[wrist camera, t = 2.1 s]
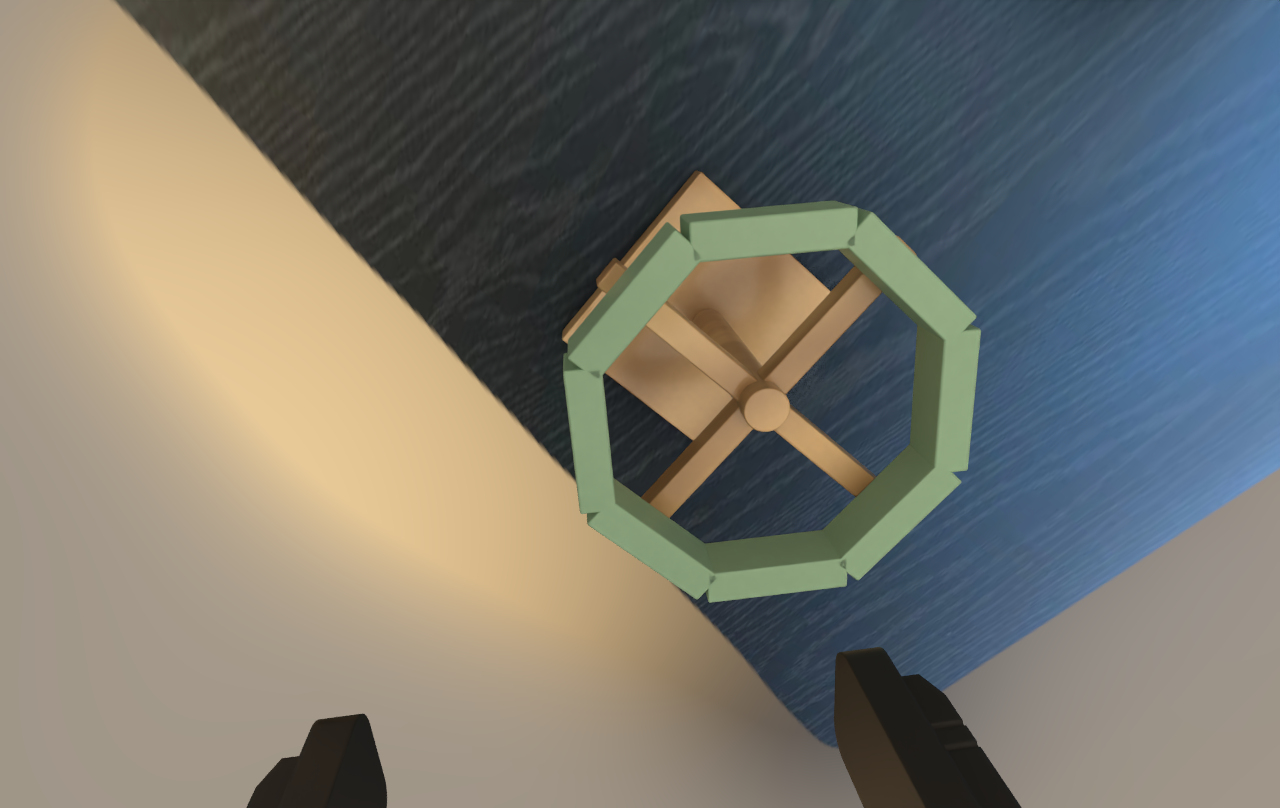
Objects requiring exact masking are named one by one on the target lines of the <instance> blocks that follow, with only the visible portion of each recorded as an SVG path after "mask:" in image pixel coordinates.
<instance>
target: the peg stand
mask: <svg viewBox="0 0 1280 808" xmlns="http://www.w3.org/2000/svg"><path fill="white" fill-rule="evenodd" d="M735 209H741V208H740V207H739V206H738V205H737V204H736V203H735V202H734V201H732V200H731V199H730V198H729V197H728V196H727V195H726V194H725V193H724V192H723V191H722V190H721V189H719V188H718V187H717V186H716V185H715V184H714V183H713V182H712V181H711V180H710V179H709V178H708V177H706V176H705V175H704V174H703V173H702V172H699V171H697V170H696V171H695V172H694V173H693V174H692V175H691V177H690V178H689V179H688V180H687V181H686V183H685V184H684V185H683V186H682V187H681V189H680V190H679V191H678V192H677V193H676V195H675V196H674V197H673V198H672V199H671V201H670V202H669V203H668V204H667V205H666V207H665V208H664V209H663V210H662V211H661V213H660V214H659V215H658V216H657V217H656V219H655V220H654V221H653V222H652V224H651V225H650V226H649V227H648V228H647V230H646V231H645V232H644V233H643V234H642V236H641V237H640V238H639V239H638V240H637V242H636V243H635V244H634V245H633V246H632V248H631V249H630V250H629V251H628V252H627V254H626V255H625V256H624V257H623V258H622V260H621V261H619V260H617V259H616V258H613V259H612V261H611V262H610V263H609V264H608V265H607V267H606V268H605V269H604V270H603V272H602V273H601V274H600V275H599V276H598V278H597V279H596V283H597V287H598V289H597V290H596V291H595V292H594V293H593V295H592V296H591V297H590V298H589V299H588V301H587V302H586V303H585V304H584V305H583V307H582V308H581V309H580V310H579V311H578V313H577V314H576V315H575V316H574V317H573V319H572V320H571V321H570V322H569V324H568V325H567V326H566V327H565V328H564V330H563V331H562V340H563V341H565V342H566V343H567V344H568V339H569V338H570V337H571V336H572V334H573V333H574V332H575V331H576V330H577V328H578V327H579V326H580V325H581V324H582V322H583V321H584V320H585V319H586V318H587V316H588V315H589V314H590V313H591V312H592V310H593V309H594V308H595V307H596V306H597V304H598V303H599V302H600V301H601V300H602V298H603V297H604V296H605V295H606V294H607V292H608V291H609V290H610V289H611V288H612V287H613V285H614V284H615V283H616V282H617V281H618V279H619V278H620V277H621V276H622V275H623V273H624V272H625V271H626V270H627V269H628V267H629V266H630V265H631V264H632V263H633V261H634V260H635V259H636V258H637V257H638V255H639V254H640V253H641V252H642V251H643V249H644V248H645V247H646V246H647V245H648V243H649V242H650V241H651V240H652V239H653V237H654V236H655V235H656V234H657V233H658V231H659V230H660V229H661V228H662V227H663V225H664V224H665V223H666V222H669V223H670V224H671V225H672V226H673V227H674V228H676V229H677V230H678V231H679V232H680V233H681V231H680V215H682V214H691V213H702V212H713V211H724V210H735ZM897 237H898V238H899V239H900V240H901V241H902V242H903V243H904V244H905V245H906V246H907V247H908V248H909V249H910V250H911V251H912V252H913V253H914V254H915V255H916V253H915V252H914V251H913V250H912V249H911V248H910V247H909V246H908V245H907V244H906V243H905V242H904V241H903V240H902V239H901V238H900V237H899V236H897ZM881 293H882V291H881V290H880V289H879V288H878V287H877V286H876V285H875V284H874V283H873V282H872V281H871V280H870V279H869V278H868V277H866V276H865V275H864V274H863V273H862V272H861V271H860V270H859V269H858V268H857V267H856V266H854V267H853V268H852V269H851V270H850V272H849V273H848V274H847V275H846V276H845V277H844V278H843V279H842V280H841V281H840V282H839V283H838V285H837V286H836V287H835V288H834V289H833V290H832V291H830V290H829V289H828V288H826V287H825V286H824V285H823V284H822V283H821V282H820V281H819V280H818V279H817V278H816V277H815V276H814V275H812V274H811V273H810V272H809V271H808V270H807V269H806V268H805V267H804V266H803V265H802V264H801V263H799V262H798V261H797V260H796V259H795V258H794V257H793V256H792V255H791V254H784V255H773V256H763V257H752V258H742V259H731V260H721V261H710V262H700V263H699V264H698V265H697V266H696V267H695V268H694V270H693V271H692V272H691V273H690V274H689V275H688V277H687V278H686V279H685V280H684V281H683V282H682V284H681V285H680V286H679V287H678V288H677V289H676V290H675V292H674V293H673V294H672V295H671V296H670V297H669V299H668V300H667V301H666V302H665V303H664V304H663V306H662V307H661V308H660V309H659V310H658V311H657V313H656V314H655V315H654V316H653V317H652V318H651V320H650V321H649V322H648V323H647V324H646V325H645V327H644V328H643V329H642V330H641V331H640V332H639V333H638V335H637V336H636V337H635V338H634V339H633V340H632V342H631V343H630V344H629V345H628V346H627V347H626V349H625V350H624V351H623V352H622V353H621V354H620V356H619V357H618V358H617V359H616V360H615V361H614V363H613V364H612V365H611V366H610V367H609V368H608V369H607V371H606V372H605V373H606V374H607V375H609V376H610V377H611V378H612V379H614V380H615V381H616V382H618V383H619V384H620V385H622V386H623V387H624V388H625V389H627V390H628V391H629V392H631V393H632V394H633V395H635V396H636V397H637V398H638V399H640V400H641V401H642V402H644V403H645V404H646V405H647V406H649V407H650V408H651V409H653V410H654V411H655V412H657V413H658V414H659V415H660V416H662V417H663V418H664V419H666V420H667V421H668V422H669V423H671V424H672V425H673V426H675V427H676V428H677V429H679V430H680V431H681V432H682V433H684V434H685V435H686V436H688V437H689V438H690V439H691V440H693V442H692V443H691V444H690V445H689V446H688V447H687V448H686V449H685V450H684V452H683V453H682V454H681V455H680V456H679V457H678V458H677V459H676V460H675V461H674V462H673V463H672V465H671V466H670V467H669V468H668V469H667V470H666V471H665V472H664V473H663V474H662V475H661V476H660V478H659V479H658V480H657V481H656V482H655V483H654V484H653V485H652V486H651V487H650V488H649V489H648V491H647V492H646V493H645V494H644V495H643V496H642V497H641V498H642V499H643V500H645V501H646V502H647V503H649V504H650V505H652V506H653V507H654V508H656V509H657V510H658V511H660V512H661V513H663V514H664V515H665V516H667V517H668V518H670V517H671V516H672V515H673V513H674V512H675V511H676V510H677V509H678V508H679V507H680V506H681V505H682V504H683V503H684V502H685V501H686V500H687V499H688V498H689V496H690V495H691V494H692V493H693V492H694V491H695V490H696V489H697V488H698V487H699V486H700V485H701V484H702V483H703V482H704V481H705V480H706V478H707V477H708V476H709V475H710V474H711V473H712V472H713V471H714V470H715V469H716V468H717V467H718V466H719V465H720V464H721V463H722V461H723V460H724V459H725V458H726V457H727V456H728V455H729V454H730V453H731V452H732V451H733V450H734V449H735V448H736V447H737V446H738V444H739V443H740V442H741V441H742V440H743V439H744V438H745V437H746V436H747V435H748V434H749V433H750V432H751V431H752V430H753V429H755V430H757V431H761V432H768V431H772V430H774V431H775V432H776V433H778V434H779V435H780V436H781V437H783V438H784V439H785V440H786V441H788V442H789V443H790V444H791V445H792V446H794V447H795V448H796V449H797V450H799V451H800V452H801V453H802V454H803V455H805V456H806V457H807V458H808V459H810V460H811V461H812V462H813V463H815V464H816V465H817V466H818V467H819V468H821V469H822V470H823V471H824V472H826V473H827V474H828V475H829V476H831V477H832V478H833V479H834V480H835V481H837V482H838V483H839V484H840V485H842V486H843V487H844V488H845V489H846V490H848V491H849V492H850V493H851V494H853V495H854V496H855V497H857V496H858V495H859V494H860V493H861V492H862V491H863V490H864V489H865V488H866V487H867V486H868V485H869V484H870V483H871V482H872V481H873V480H874V479H875V478H876V477H877V476H875V475H874V474H873V473H872V472H871V471H869V470H868V469H867V468H866V467H865V466H864V465H862V464H861V463H860V462H859V461H858V460H856V459H855V458H854V457H853V456H852V455H850V454H849V453H848V452H847V451H846V450H844V449H843V448H842V447H841V446H840V445H838V444H837V443H836V442H835V441H834V440H832V439H831V438H830V437H829V436H828V435H826V434H825V433H824V432H823V431H822V430H821V429H819V428H818V427H817V426H816V425H815V424H813V423H812V422H811V421H810V420H809V419H807V418H806V417H805V416H804V415H803V414H801V413H800V412H799V411H798V410H797V409H795V408H794V407H793V406H792V405H791V404H790V403H789V400H788V398H787V396H786V394H787V393H788V391H789V390H790V389H791V388H792V387H793V386H794V385H795V384H796V383H797V382H798V381H799V380H800V379H801V378H802V377H803V376H804V374H805V373H806V372H807V371H808V370H809V369H810V368H811V367H812V366H813V365H814V364H815V363H816V362H817V361H818V360H819V359H820V357H821V356H822V355H823V354H824V353H825V352H826V351H827V350H828V349H829V348H830V347H831V346H832V345H833V344H834V343H835V342H836V341H837V339H838V338H839V337H840V336H841V335H842V334H843V333H844V332H845V331H846V330H847V329H848V328H849V327H850V326H851V325H852V324H853V322H854V321H855V320H856V319H857V318H858V317H859V316H860V315H861V314H862V313H863V312H864V311H865V310H866V309H867V308H868V307H869V306H870V304H871V303H872V302H873V301H874V300H875V299H876V298H877V297H878V296H879V295H880V294H881Z"/></svg>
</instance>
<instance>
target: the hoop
mask: <svg viewBox="0 0 1280 808" xmlns="http://www.w3.org/2000/svg"><path fill="white" fill-rule="evenodd" d="M680 231H681V233H680V232H679V231H678V230H677V229H676V228H674V227H673V226H672V225H671V224H670V223H669V222H666V223H665V224H664V225H663V227H662V228H661V229H660V230H659V231H658V233H657V234H656V235H655V236H654V237H653V239H652V240H651V241H650V242H649V243H648V245H647V246H646V247H645V248H644V249H643V251H642V252H641V253H640V254H639V255H638V257H637V258H636V259H635V260H634V261H633V263H632V264H631V265H630V266H629V267H628V269H627V270H626V271H625V272H624V273H623V275H622V276H621V277H620V278H619V279H618V281H617V282H616V283H615V284H614V285H613V287H612V288H611V289H610V290H609V291H608V292H607V294H606V295H605V296H604V297H603V298H602V300H601V301H600V302H599V303H598V304H597V306H596V307H595V308H594V309H593V310H592V312H591V313H590V314H589V315H588V316H587V318H586V319H585V320H584V321H583V322H582V324H581V325H580V326H579V327H578V328H577V330H576V331H575V332H574V333H573V334H572V336H571V337H570V338H569V339H568V353H565V354H564V357H563V377H564V385H565V393H566V401H567V410H568V418H569V426H570V434H571V442H572V450H573V459H574V467H575V475H576V483H577V491H578V499H579V507H580V513H581V514H586V513H587V523H588V525H589V526H590V527H592V528H593V529H595V530H596V531H597V532H599V533H600V534H602V535H603V536H605V537H606V538H608V539H609V540H611V541H612V542H614V543H615V544H617V545H618V546H619V547H621V548H622V549H624V550H625V551H627V552H628V553H630V554H631V555H632V556H634V557H635V558H637V559H638V560H640V561H641V562H643V563H644V564H646V565H647V566H649V567H650V568H651V569H653V570H654V571H656V572H657V573H659V574H660V575H662V576H663V577H665V578H666V579H667V580H669V581H670V582H672V583H673V584H675V585H676V586H678V587H679V588H681V589H682V590H684V591H685V592H686V593H688V594H689V595H691V596H692V597H694V598H695V599H699V598H700V596H701V595H702V594H703V593H704V592H705V591H706V595H707V598H708V601H709V602H710V603H711V602H719V601H727V600H736V599H744V598H752V597H760V596H769V595H777V594H785V593H793V592H802V591H810V590H818V589H826V588H835V587H843V586H846V585H847V573H849V574H850V575H851V576H852V577H854V578H855V579H856V580H859V579H860V578H861V577H862V576H863V575H865V574H866V573H867V572H868V571H869V570H870V569H871V568H872V567H873V566H874V565H875V564H876V563H877V562H878V561H879V560H880V559H881V558H882V557H883V556H885V555H886V554H887V553H888V552H889V551H890V550H891V549H892V548H893V547H894V546H895V545H896V544H897V543H898V542H899V541H900V540H901V539H902V538H903V537H905V536H906V535H907V534H908V533H909V532H910V531H911V530H912V529H913V528H914V527H915V526H916V525H917V524H918V523H919V522H920V521H921V520H922V519H923V518H924V517H926V516H927V515H928V514H929V513H930V512H931V511H932V510H933V509H934V508H935V507H936V506H937V505H938V504H939V503H940V502H941V501H942V500H943V499H944V498H946V497H947V496H948V495H949V494H950V493H951V492H952V491H953V490H954V489H955V488H956V487H957V486H958V485H959V484H960V483H961V480H960V479H959V478H958V477H956V476H955V475H954V474H953V473H952V472H957V471H966V470H967V469H968V459H969V449H970V438H971V428H972V418H973V407H974V397H975V386H976V376H977V365H978V355H979V345H980V334H981V330H980V329H979V328H977V327H975V326H973V325H971V323H972V322H973V321H974V320H975V319H976V315H975V314H974V313H973V312H972V311H971V310H970V309H969V308H968V307H967V306H966V305H965V304H964V303H963V302H962V301H961V300H960V299H959V298H958V297H957V296H956V295H955V294H954V293H953V292H952V291H951V290H950V289H949V288H948V287H947V286H946V285H945V284H944V283H943V282H942V281H941V280H940V279H939V278H938V277H937V276H936V275H935V274H934V273H933V272H932V271H931V270H930V269H929V268H928V267H927V266H926V265H925V264H924V263H923V262H922V261H921V260H920V259H919V258H918V257H917V256H916V255H915V254H914V253H913V252H912V251H911V250H910V249H909V248H908V247H907V246H906V245H905V244H904V243H903V242H902V241H901V240H900V239H899V238H898V237H897V236H896V235H895V234H894V233H893V232H892V231H891V230H890V229H889V228H888V227H887V226H886V225H885V224H884V223H883V222H882V221H881V220H880V219H879V218H878V217H877V216H876V215H875V214H874V213H873V212H870V211H866V210H863V209H859V208H857V207H855V206H851V205H848V204H844V203H841V202H837V201H823V202H812V203H801V204H790V205H779V206H768V207H757V208H746V209H735V210H724V211H713V212H702V213H691V214H682V215H680ZM837 249H838V250H839V251H840V252H841V253H842V254H843V255H844V256H846V257H847V258H848V259H849V260H850V261H851V262H852V263H853V264H854V265H855V266H856V267H857V268H858V269H859V270H860V271H861V272H862V273H863V274H864V275H865V276H866V277H868V278H869V279H870V280H871V281H872V282H873V283H874V284H875V285H876V286H877V287H878V288H879V289H880V290H881V291H882V292H883V293H884V294H885V295H886V296H887V297H888V298H890V299H891V300H892V301H893V302H894V303H895V304H896V305H897V306H898V307H899V308H900V309H901V310H902V311H903V312H904V313H905V314H906V315H907V316H908V317H909V318H911V319H912V320H913V321H914V322H915V323H916V324H917V340H916V356H915V372H914V388H913V404H912V420H911V435H910V444H909V445H908V446H907V447H906V448H905V449H904V450H903V451H902V452H901V453H900V454H899V455H898V456H897V457H896V458H895V459H894V460H893V461H892V462H891V463H890V464H889V465H888V466H887V467H886V468H885V469H884V470H883V471H882V472H881V473H880V474H879V475H878V476H877V477H876V478H875V479H874V480H873V481H872V482H871V483H870V484H869V485H868V486H867V487H866V488H865V489H864V490H863V491H862V492H861V493H860V494H859V495H858V496H857V497H856V498H855V499H854V500H853V501H852V502H851V503H850V504H849V505H848V506H847V507H846V508H845V509H844V510H842V511H841V512H840V513H839V514H838V515H837V516H836V517H835V518H834V519H833V520H832V521H831V522H830V523H829V524H828V525H827V526H826V527H825V528H824V529H823V530H819V531H810V532H801V533H793V534H784V535H776V536H767V537H758V538H750V539H741V540H733V541H724V542H715V543H707V544H704V543H703V542H702V541H700V540H699V539H697V538H696V537H695V536H693V535H692V534H690V533H689V532H688V531H686V530H685V529H683V528H682V527H681V526H679V525H678V524H677V523H675V522H674V521H672V520H671V519H670V518H668V517H667V516H665V515H664V514H663V513H661V512H660V511H658V510H657V509H656V508H654V507H653V506H652V505H650V504H649V503H647V502H646V501H645V500H643V499H642V498H640V497H639V496H638V495H636V494H635V493H633V492H632V491H631V490H629V489H628V488H627V487H625V486H624V485H622V484H621V483H620V482H618V481H617V480H615V479H614V478H613V471H612V461H611V451H610V442H609V432H608V422H607V412H606V402H605V393H604V383H603V374H604V373H605V372H606V371H607V369H608V368H609V367H610V366H611V365H612V364H613V363H614V361H615V360H616V359H617V358H618V357H619V356H620V354H621V353H622V352H623V351H624V350H625V349H626V347H627V346H628V345H629V344H630V343H631V342H632V340H633V339H634V338H635V337H636V336H637V335H638V333H639V332H640V331H641V330H642V329H643V328H644V327H645V325H646V324H647V323H648V322H649V321H650V320H651V318H652V317H653V316H654V315H655V314H656V313H657V311H658V310H659V309H660V308H661V307H662V306H663V304H664V303H665V302H666V301H667V300H668V299H669V297H670V296H671V295H672V294H673V293H674V292H675V290H676V289H677V288H678V287H679V286H680V285H681V284H682V282H683V281H684V280H685V279H686V278H687V277H688V275H689V274H690V273H691V272H692V271H693V270H694V268H695V267H696V266H697V265H698V264H699V263H700V262H710V261H721V260H731V259H742V258H752V257H763V256H773V255H784V254H795V253H805V252H816V251H826V250H837Z"/></svg>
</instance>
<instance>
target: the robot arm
mask: <svg viewBox="0 0 1280 808" xmlns="http://www.w3.org/2000/svg"><path fill="white" fill-rule="evenodd" d="M834 725H835V733H836V738H837V743H838V747H839V750H840V753H841V756H842V759H843V761H844V763H845V766H846V768H847V770H848V772H849V775H850V777H851V779H852V782H853V784H854V786H855V788H856V791H857V793H858V795H859V798H860V800H861V802H862V804H863V807H864V808H1021V806H1020V805H1019V803H1018V802H1017V800H1016V799H1015V797H1014V796H1013V794H1012V793H1011V791H1010V790H1009V788H1008V787H1007V785H1006V784H1005V782H1004V781H1003V779H1002V778H1001V777H1000V775H999V774H998V772H997V771H996V769H995V768H994V766H993V765H992V763H991V762H990V760H989V759H988V757H987V756H986V754H985V753H984V751H983V750H982V749H981V747H978V745H977V741H976V739H975V738H974V737H973V735H972V733H971V732H970V731H969V729H968V728H967V726H964V725H963V721H962V719H961V717H960V716H959V714H958V713H957V712H956V710H955V708H954V707H953V705H952V704H951V702H950V701H949V699H948V698H947V697H946V695H945V694H944V693H943V692H941V691H940V690H939V689H937V688H936V687H935V686H933V685H932V684H931V683H929V682H928V681H927V680H926V679H924V678H923V677H922V676H920V675H919V674H916V675H909V676H902V677H901V675H900V674H899V672H898V670H897V669H896V667H895V665H894V664H893V662H892V661H891V659H890V657H889V656H888V654H887V653H886V651H885V650H884V649H883V648H881V647H876V648H869V649H861V650H853V651H846V652H839V653H838V654H837V656H836V668H835V707H834ZM386 807H387V790H386V782H385V778H384V774H383V770H382V766H381V763H380V759H379V756H378V752H377V748H376V745H375V741H374V738H373V734H372V730H371V726H370V723H369V720H368V718H367V716H366V715H365V714H357V715H350V716H342V717H334V718H327V719H320V720H317V721H316V722H315V723H314V724H313V725H312V728H311V730H310V732H309V734H308V737H307V739H306V741H305V744H304V746H303V749H302V751H301V753H300V756H297V757H289V758H282V759H281V760H280V761H279V762H278V763H277V765H276V766H275V767H274V768H273V769H272V770H271V771H270V772H269V773H268V774H267V776H266V777H265V778H264V779H263V780H262V781H261V782H260V784H259V785H258V786H257V787H256V788H255V791H254V793H253V795H252V797H251V799H250V801H249V803H248V806H247V808H386Z"/></svg>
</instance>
